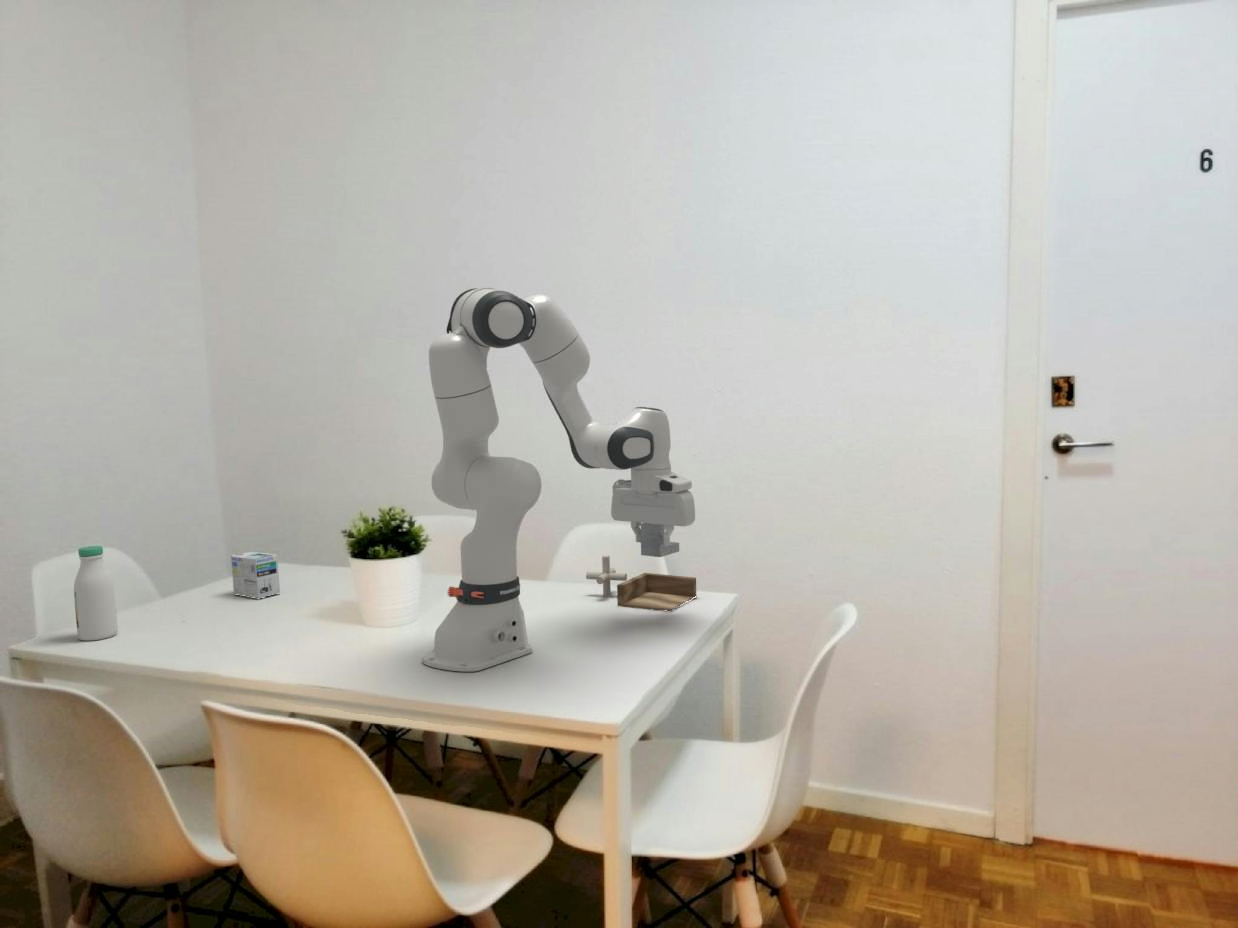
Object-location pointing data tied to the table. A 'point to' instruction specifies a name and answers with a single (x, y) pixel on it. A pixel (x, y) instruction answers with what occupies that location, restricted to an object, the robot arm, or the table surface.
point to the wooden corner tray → (656, 591)
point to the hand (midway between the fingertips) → (652, 543)
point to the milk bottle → (94, 597)
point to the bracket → (655, 541)
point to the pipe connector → (606, 576)
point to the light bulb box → (255, 574)
